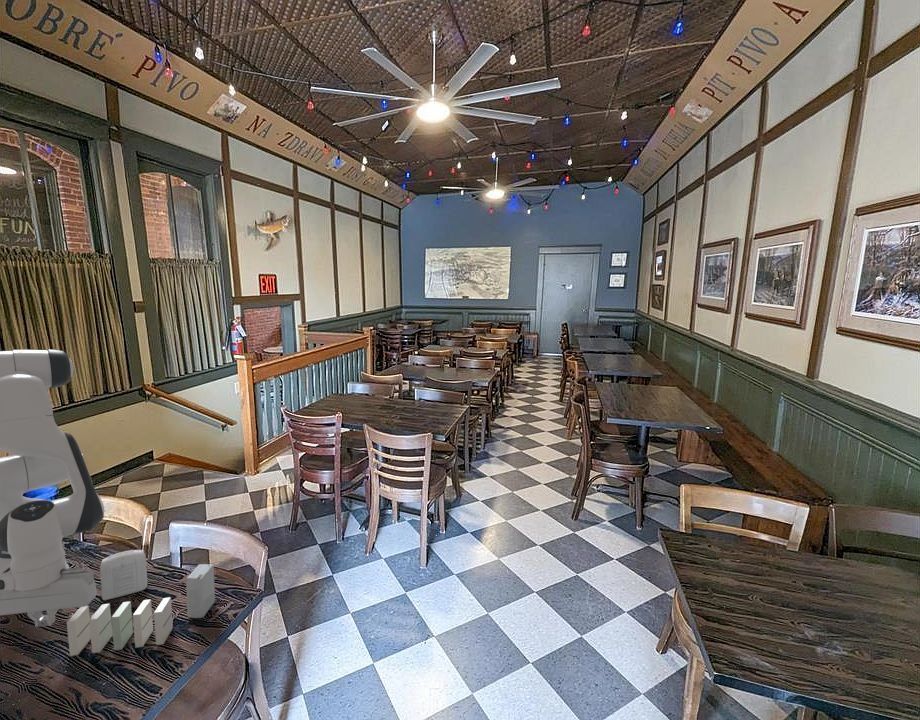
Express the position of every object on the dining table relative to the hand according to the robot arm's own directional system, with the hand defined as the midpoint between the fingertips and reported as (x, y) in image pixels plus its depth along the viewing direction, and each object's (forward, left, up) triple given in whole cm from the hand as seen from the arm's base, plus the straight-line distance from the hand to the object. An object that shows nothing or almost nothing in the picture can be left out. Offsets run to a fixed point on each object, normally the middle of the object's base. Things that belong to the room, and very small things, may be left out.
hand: (45, 624), depth 97 cm
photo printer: (+7, +19, -7) cm, 22 cm away
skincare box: (+30, +8, -7) cm, 32 cm away
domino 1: (+7, 0, -7) cm, 10 cm away
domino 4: (+25, 0, -7) cm, 26 cm away
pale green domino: (+16, 0, -7) cm, 17 cm away
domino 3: (+20, 0, -7) cm, 21 cm away
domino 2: (+11, 0, -7) cm, 13 cm away
